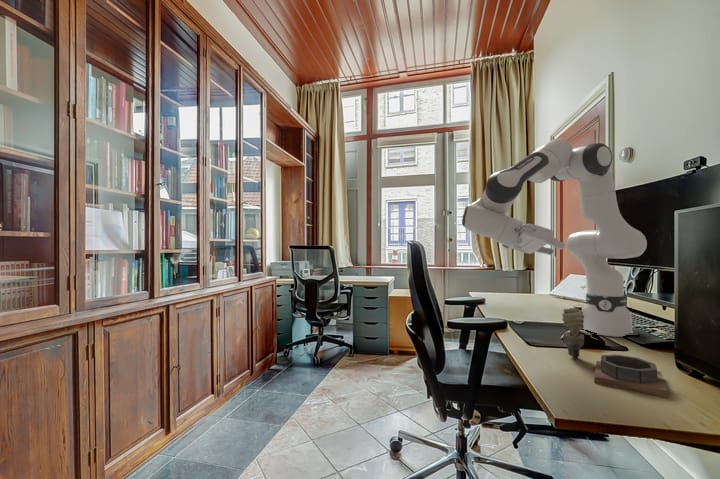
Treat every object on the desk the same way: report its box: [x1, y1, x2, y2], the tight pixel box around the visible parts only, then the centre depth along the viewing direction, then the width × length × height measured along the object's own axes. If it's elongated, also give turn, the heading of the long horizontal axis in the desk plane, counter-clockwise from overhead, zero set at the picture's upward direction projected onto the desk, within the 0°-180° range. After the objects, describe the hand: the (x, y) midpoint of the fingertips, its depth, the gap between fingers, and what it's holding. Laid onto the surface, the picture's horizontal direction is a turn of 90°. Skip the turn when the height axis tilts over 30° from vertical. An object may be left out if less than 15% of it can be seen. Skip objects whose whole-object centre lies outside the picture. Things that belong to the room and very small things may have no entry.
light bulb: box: [561, 307, 585, 359], centre depth 94 cm, size 6×6×15 cm
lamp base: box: [594, 353, 669, 399], centre depth 79 cm, size 13×13×4 cm
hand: (557, 250), depth 97 cm, fingers open, 8 cm apart
